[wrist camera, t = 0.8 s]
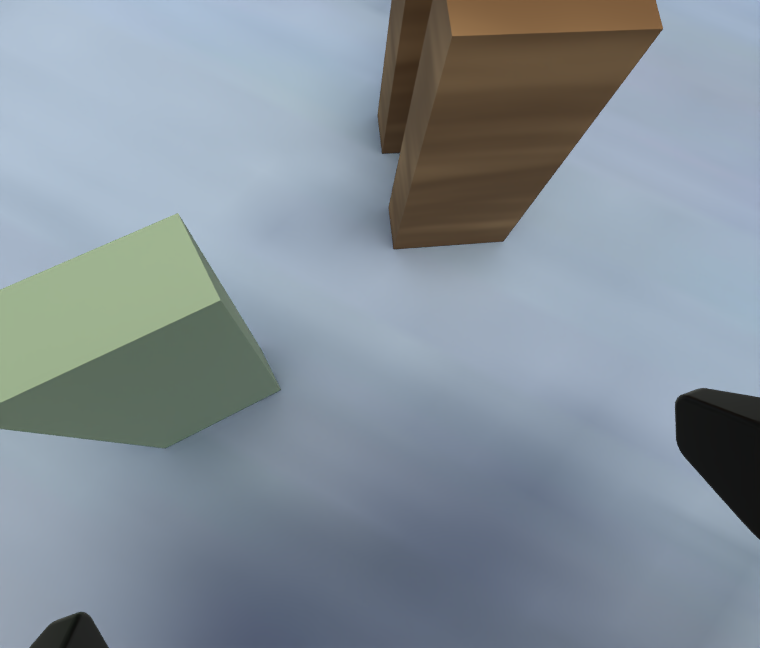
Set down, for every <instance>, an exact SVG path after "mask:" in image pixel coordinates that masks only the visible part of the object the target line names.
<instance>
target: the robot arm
mask: <svg viewBox="0 0 760 648" xmlns="http://www.w3.org/2000/svg"><path fill="white" fill-rule="evenodd" d="M675 421H676V441H677V445H678V447H679V450H680V451H681V453H682V454H683V456H684V457H685V458H686V459H687V460H688V461H689V463H690V464H691V465H692V466H693V467H694V468H695V469H696V470H697V472H698V473H699V474H700V475H701V476H702V477H703V478H704V479H705V481H706V482H707V483H708V484H709V485H710V486H711V487H712V488H713V490H714V491H715V492H716V493H717V494H718V495H719V496H720V497H721V499H722V500H723V501H724V502H725V503H726V504H727V505H728V506H729V508H730V509H731V510H732V511H733V512H734V513H735V514H736V515H737V517H738V518H739V519H740V520H741V521H742V522H743V523H744V524H745V525H746V526H747V527H748V528H749V529H750V531H751V532H752V533H753V534H754V535H755V536H756V537H757V538H758V539H760V397H754V396H748V395H742V394H736V393H731V392H725V391H719V390H713V389H707V388H699V389H696V390H693V391H690V392H688V393H685V394H682V395H680V396H679V397H678V398H677V400H676V402H675ZM30 648H109V647H108V646H107V644H106V642H105V641H104V639H103V637H102V635H101V634H100V632H99V630H98V628H97V627H96V625H95V623H94V621H93V620H92V618H91V617H90V616H89V615H88V614H87V613H85V612H78V613H75V614H72V615H70V616H67V617H64V618H61V619H58V620H56V621H54V622H52V623H51V624H50V625H49V626H48V627H47V628H46V629H45V630H44V631H43V632H42V634H41V635H40V636H39V637H38V638H37V639H36V641H35V642H34V643H33V644H32V645H31V646H30Z"/></svg>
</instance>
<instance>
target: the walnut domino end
mask: <svg viewBox="0 0 760 648" xmlns="http://www.w3.org/2000/svg"><path fill="white" fill-rule="evenodd" d="M431 5H432V0H392V2H391V10H390V18H389V26H388V34H387V42H386V50H385V59H384V67H383V75H382V83H381V91H380V99H379V108H378V123H379V132H380V140H381V148H382V154H384V153H400V151H401V147H402V142H403V137H404V132H405V128H406V123H407V118H408V114H409V109H410V104H411V99H412V95H413V90H414V85H415V81H416V76H417V71H418V66H419V62H420V57H421V52H422V48H423V43H424V38H425V33H426V29H427V24H428V19H429V15H430V10H431Z"/></svg>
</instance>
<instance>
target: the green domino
mask: <svg viewBox="0 0 760 648" xmlns="http://www.w3.org/2000/svg"><path fill="white" fill-rule="evenodd" d="M280 390H281V389H280V387H279V385H278V383H277V381H276V379H275V377H274V375H273V373H272V371H271V369H270V367H269V365H268V363H267V361H266V359H265V357H264V355H263V353H262V350H261V348H260V347H259V345H258V343H257V342H256V340H255V338H254V337H253V335H252V334H251V332H250V330H249V329H248V327H247V325H246V324H245V322H244V320H243V319H242V317H241V316H240V314H239V312H238V311H237V309H236V307H235V306H234V304H233V302H232V301H231V299H230V298H229V296H228V294H227V293H226V291H225V289H224V288H223V286H222V284H221V283H220V281H219V280H218V278H217V276H216V275H215V273H214V271H213V270H212V268H211V266H210V265H209V263H208V262H207V260H206V258H205V257H204V255H203V253H202V252H201V250H200V248H199V247H198V245H197V244H196V242H195V240H194V239H193V237H192V235H191V234H190V232H189V230H188V229H187V227H186V226H185V224H184V222H183V221H182V219H181V217H180V216H179V214H178V213H177V214H175V215H173V216H170V217H168V218H166V219H163V220H161V221H159V222H156V223H154V224H152V225H150V226H147V227H145V228H143V229H140V230H138V231H136V232H133V233H131V234H129V235H126V236H124V237H122V238H119V239H117V240H115V241H112V242H110V243H108V244H105V245H103V246H101V247H98V248H96V249H94V250H91V251H89V252H87V253H85V254H82V255H80V256H78V257H75V258H73V259H71V260H68V261H66V262H64V263H61V264H59V265H57V266H54V267H52V268H50V269H47V270H45V271H43V272H40V273H38V274H36V275H33V276H31V277H29V278H26V279H24V280H22V281H20V282H17V283H15V284H13V285H10V286H8V287H6V288H3V289H1V290H0V429H6V430H14V431H22V432H31V433H39V434H48V435H56V436H65V437H73V438H82V439H90V440H98V441H107V442H115V443H124V444H132V445H141V446H149V447H158V448H167V447H169V446H171V445H173V444H175V443H177V442H179V441H181V440H183V439H185V438H187V437H189V436H191V435H193V434H195V433H197V432H199V431H201V430H203V429H205V428H207V427H209V426H211V425H212V424H214V423H216V422H218V421H220V420H222V419H224V418H226V417H228V416H230V415H232V414H234V413H236V412H238V411H240V410H242V409H244V408H246V407H248V406H250V405H252V404H254V403H256V402H258V401H260V400H262V399H264V398H266V397H268V396H270V395H272V394H274V393H276V392H278V391H280Z"/></svg>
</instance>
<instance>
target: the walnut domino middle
mask: <svg viewBox="0 0 760 648" xmlns="http://www.w3.org/2000/svg"><path fill="white" fill-rule="evenodd" d="M662 30H663V27H662V23H661V19H660V15H659V11H658V8H657V4H656V0H432V5H431V10H430V15H429V19H428V24H427V29H426V33H425V38H424V43H423V48H422V52H421V57H420V62H419V66H418V71H417V76H416V81H415V85H414V90H413V95H412V99H411V104H410V109H409V114H408V118H407V123H406V128H405V132H404V137H403V142H402V147H401V151H400V156H399V161H398V165H397V170H396V175H395V180H394V184H393V189H392V194H391V198H390V203H389V215H390V224H391V232H392V241H393V249H404V248H418V247H431V246H445V245H459V244H473V243H487V242H501V241H504V240H505V239H506V237H507V236H508V235H509V233H510V232H511V231H512V229H513V228H514V227H515V225H516V224H517V223H518V221H519V220H520V219H521V217H522V216H523V215H524V213H525V212H526V211H527V209H528V208H529V207H530V205H531V204H532V203H533V201H534V200H535V199H536V197H537V196H538V195H539V193H540V192H541V191H542V189H543V188H544V187H545V185H546V184H547V183H548V181H549V180H550V179H551V177H552V176H553V175H554V173H555V172H556V171H557V169H558V168H559V167H560V165H561V164H562V163H563V161H564V160H565V159H566V157H567V156H568V155H569V153H570V152H571V151H572V149H573V148H574V147H575V145H576V144H577V143H578V141H579V140H580V139H581V137H582V136H583V135H584V133H585V132H586V131H587V129H588V128H589V127H590V125H591V124H592V123H593V121H594V120H595V119H596V117H597V116H598V115H599V113H600V112H601V111H602V109H603V108H604V107H605V105H606V104H607V103H608V101H609V100H610V99H611V97H612V96H613V95H614V93H615V92H616V91H617V89H618V88H619V87H620V85H621V84H622V83H623V81H624V80H625V79H626V77H627V76H628V75H629V73H630V72H631V71H632V69H633V68H634V67H635V65H636V64H637V63H638V61H639V60H640V59H641V57H642V56H643V55H644V53H645V52H646V51H647V50H648V48H649V47H650V46H651V44H652V43H653V42H654V40H655V39H656V38H657V36H658V35H659V34H660V32H661V31H662Z"/></svg>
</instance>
